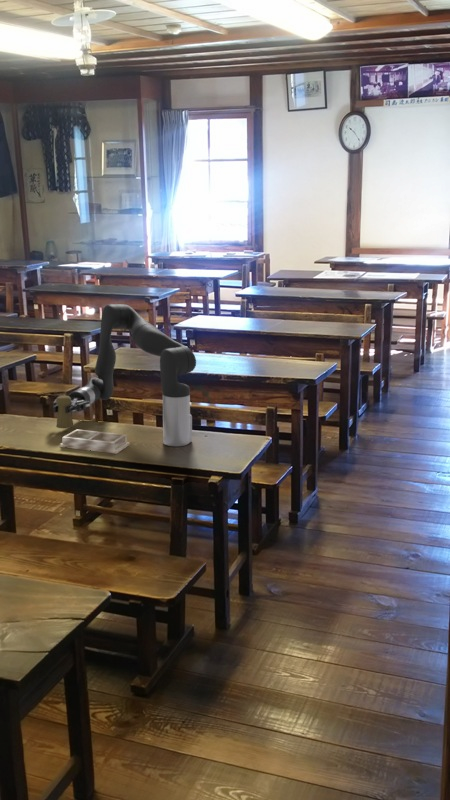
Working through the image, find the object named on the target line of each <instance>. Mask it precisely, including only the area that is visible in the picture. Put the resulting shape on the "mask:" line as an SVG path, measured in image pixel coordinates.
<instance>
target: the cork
mask: <svg viewBox="0 0 450 800" xmlns="http://www.w3.org/2000/svg"><path fill="white" fill-rule="evenodd" d="M56 403H57V405H58V412H56V428H58V429H70V428H72V427H74V421H73V414H72V411H71V412H70V413H65V408H66V407H67V406H69V405H70V404H71V398H70V397H69V396H68V395H59V396H57V397H56Z"/></svg>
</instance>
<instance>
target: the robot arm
mask: <svg viewBox="0 0 450 800" xmlns="http://www.w3.org/2000/svg"><path fill="white" fill-rule="evenodd" d="M113 330H128V331H130V332H131V339H132V341H133V343H134V344H135V345H136V346H137V347H138V348H139V349H141V350H142V351H143V352H145V353H147V354H150V355H154V356H158V357H159V368H160V369H159V370H160V373H159V374H160V385H161V389H162V437H163V438H162V439H163V441H162V443H163V444H164V445H165V446H169V447H183V446H187V445H189V444H190V443H192V442H193V416H192V414H191V389H190V385H187V384H185V383H181V382H179V381H178V376H181V375H187V374H189V373H191V372H193V371H194V370H195V368H196V365H197V360H196V356H195V354H194V351H193V350H191V349H190V348H189V347H188V346H186V345H184V344H182V343H180V342H178V341H176V340H174V339H172V338H171V337H170V336H169V335H168V334H165V333H164V332H162V331H161V330H160V329H159V328H158V327H156V326H155V325H153V324H151V323H150V322H148V321H147V320H146V319H144V318H143V317H142V316H141V314H139V313H138V312H137V311H136V310H135V309H134V308H133V307H131V306H130V305H128V304H123V303H121V304H120V303H119V304H118V303H117V304H115V303H114V304H113V303H112V304H109V303H108V304H107V305H105V306H104V307H103V310H102V312H101V319H100V331H99V348H98V353H97V354H98V355H97V359H96V363H95V367H94V373H95V375H96V376H97V377H91V378H90V377H89V379H88V381H87V383H86V384H85V385H84V386H83V387H79V388H77V389H75V390H73V391H72V392H70V393H69V394H68V395H67V396H69V397H70V398H71V404H70V405H69V406H67V407H66V408H65V413H70V412H71V413H72V412H81V411H85V410H88V409H90V406H91V405H93V403H96V402H97V401H98V400H103V401H107V400H109V399H111V397H112V396H113V394H114V393H113V392H114V376H113V375H114V370H115V365H116V362H117V361H116V360H117V353H116V350H115V347H114V345H113V342H112V332H113ZM98 377H99V378H98ZM56 399H57V398H56ZM56 399H54V401H53V406H52V411H53V413H56V414H57V413H58V405H57V403H56Z"/></svg>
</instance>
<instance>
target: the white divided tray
mask: <svg viewBox="0 0 450 800" xmlns="http://www.w3.org/2000/svg"><path fill="white" fill-rule="evenodd" d="M127 436H128V435H127V434H121V433H116V432H115V433H113V432H107V431H106V432H104V431H96V430H87V429H75V430H73V431H71V432H70V433H68V434H65V435H64V436H62V437H61V438H62V442H61V443H59V447H60V448H65V447H67V449H74V450H75V449H76V450H84V451H90V450H91V451H92V452H100V453H108V454H116V455H117V454H119V453H120V452H121V451H123V450H124V449H126V448H127V447H129V446H130V441H128V440H127Z"/></svg>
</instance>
